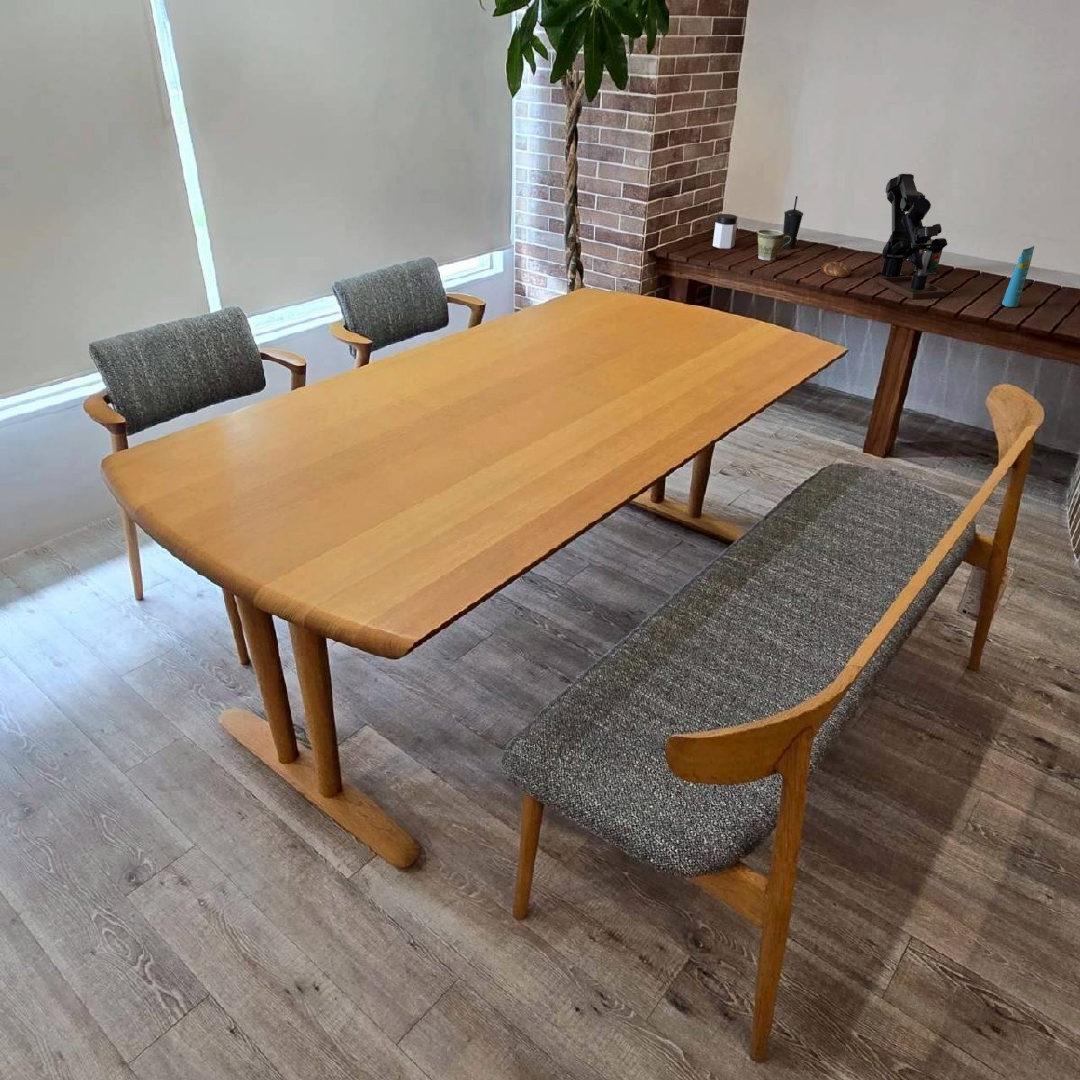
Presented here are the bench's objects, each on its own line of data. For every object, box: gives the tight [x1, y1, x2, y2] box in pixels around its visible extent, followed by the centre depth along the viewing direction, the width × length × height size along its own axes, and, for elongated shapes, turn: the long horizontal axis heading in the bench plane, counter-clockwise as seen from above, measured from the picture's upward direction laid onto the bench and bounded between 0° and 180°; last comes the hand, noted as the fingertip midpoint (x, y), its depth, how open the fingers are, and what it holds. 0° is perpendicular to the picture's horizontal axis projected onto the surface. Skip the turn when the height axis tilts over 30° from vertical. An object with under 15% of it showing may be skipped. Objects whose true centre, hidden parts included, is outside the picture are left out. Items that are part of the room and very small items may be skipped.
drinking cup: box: [781, 195, 805, 250], centre depth 341 cm, size 8×8×20 cm
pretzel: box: [820, 261, 852, 279], centre depth 312 cm, size 12×11×4 cm
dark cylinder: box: [911, 250, 932, 290], centre depth 291 cm, size 4×4×13 cm
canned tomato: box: [914, 238, 944, 275], centre depth 315 cm, size 8×8×11 cm
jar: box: [712, 213, 738, 250], centre depth 343 cm, size 9×8×12 cm
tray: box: [878, 275, 948, 300], centre depth 297 cm, size 20×14×2 cm
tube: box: [1001, 245, 1035, 308], centre depth 279 cm, size 7×5×19 cm, turn 134°
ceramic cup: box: [757, 228, 791, 262], centre depth 328 cm, size 13×10×10 cm
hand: (925, 269), depth 289 cm, fingers closed on dark cylinder, 3 cm apart
